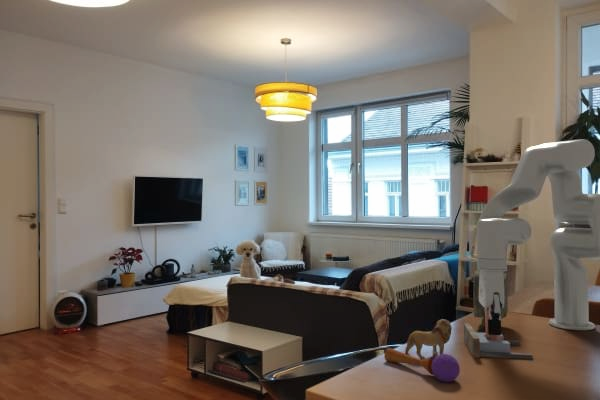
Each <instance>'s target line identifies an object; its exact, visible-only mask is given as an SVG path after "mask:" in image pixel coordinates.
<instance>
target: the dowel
mask: <svg viewBox="0 0 600 400" xmlns="http://www.w3.org/2000/svg"><path fill="white" fill-rule="evenodd" d="M491 308H494V306H491ZM493 311H494V310H492V312H493ZM488 319H489V307H488V308H485V323H484V327H485V326H486V330H485V333H486V339H487V340H498V341H500V335H489V334H488Z"/></svg>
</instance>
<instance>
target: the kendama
mask: <svg viewBox="0 0 600 400" xmlns="http://www.w3.org/2000/svg"><path fill="white" fill-rule="evenodd" d="M383 357H384V359H385V361H386V362H390V363H396V364H397V363H398V364H408V365H409V364H411V365H419V366H422V367H423V368H424V369H425V371H427V372H428V373H429V374H430V375H432V376H434V377H435V379H437V380H438V381H440V382H445V383H451V382H453V381H455V380H456V379H457V378H458V377H459V375H460V372H461V369H460V368H461V367H460V364H459V362H458V360H457V359H456V358H455V357H454V356H453V355H450V354H447V353H443V354H441V355H440V354H437V355H432V356H429V357H426V358H425V359H420V358H419V357H418V358H417V357H415V356H412V355H411V354H410V355H407V354H405V352H402V351H399V350H396V349H393V348H390V347H388V348H386V349H385V351H384V355H383Z"/></svg>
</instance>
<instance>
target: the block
mask: <svg viewBox="0 0 600 400" xmlns="http://www.w3.org/2000/svg"><path fill="white" fill-rule="evenodd" d="M475 333H476V334H477V336H478V337H479V338H480V351H482V352H502V353H511V345H510V343H509V342H508V341H503V340H504V335H503V334H502V333H501V335H500V341H498V340H487V339H486V332H476V331H475Z"/></svg>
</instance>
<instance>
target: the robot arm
mask: <svg viewBox="0 0 600 400" xmlns="http://www.w3.org/2000/svg"><path fill="white" fill-rule="evenodd" d="M595 150H596V149H595V147H594V145H593V143H592V142H590V141H589V140H588V139H585V138H582V139H571V140H563V141H555V142H552V141H551V142H546V143H541V144H538V145H533V146H530V147H527V148H525V150H524V151H523V153H522V155H521V157H520V159H519V161H518V163H517V166H516V169H515V171H514V173H513V176H512V177H511V180H510V183H509V185H507V186H506V187H505V188H503V189H502V190H500V191H499V192H498V193H497V194H495V196H493V197H492V198H490V200H489V201H488V202H487V203H486V204H485V205H484V207H483V209H482V211H481V214H480V216H479V219H478V220H477V223H476V269H477V270H480V277H479V302H480V303H481V305H482V306H483V307H485V308H488V307H489V319H488V334H489V335H501V334H502V319H501V310H500V308H501V309H503V308H504V301H505V297H504V275H503V273H504V272H507V271H508V248H507V247H508V245H509V246H510V245H513V246H520V245H523V244H525V243H526V242H528V241H529V240H530V238H531V235H532V227H531V225H530V224H529V222H528V221H527V220H525V219H524V218H520V217H506V216H505V217H503V216H504V215H505V214H506V213H508V212H509V211H511V210H513V209H515V208H518V207H520V206H524V205H526V204H528V203H531V202H533V201H534V200H536V199H538V197H539V196H540V194H541V192H542V189H543V186H544V184H545V183H546V179H547V178H548V179H549V183H550V187H551V200H552V202H551V203H552V213H553V216H554V219H555V221H557V222H558V223H561V224H570V225H589V227H590V228H589V227H588V228H587V227H561V228H557V229H555V230H554V231H552V233H551V234H550V239H549V241H550V243H549V244H550V248H551V253H552V258H553V275H554V276H553V277H554V278H553V281H554V286H553V288H554V289H553V290H554V317H553V318H550V319H549V321H548V322H549V325H551V326H553V327H555V328H559V329H564V330H570V331H591V330H594V329H595V324H594V323H593V322H591V321H589V320H590V319H589V313H590V311H589V272H588V269H587V266H586V265H585V263H583V261H582V259H587V260H600V193H584V192H583V189H582V180H581V179H582V178H581V176H580V175H579V173H578V172H577V171H578V170H582V169H586V168H587V167H589V166H590V165H592V163H593V161H594V159H595V155H596V153H595V152H596V151H595ZM491 306H494V308H491ZM492 310H494V311H493V312H492ZM484 330H485V331H486V326H485V325H484Z"/></svg>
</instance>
